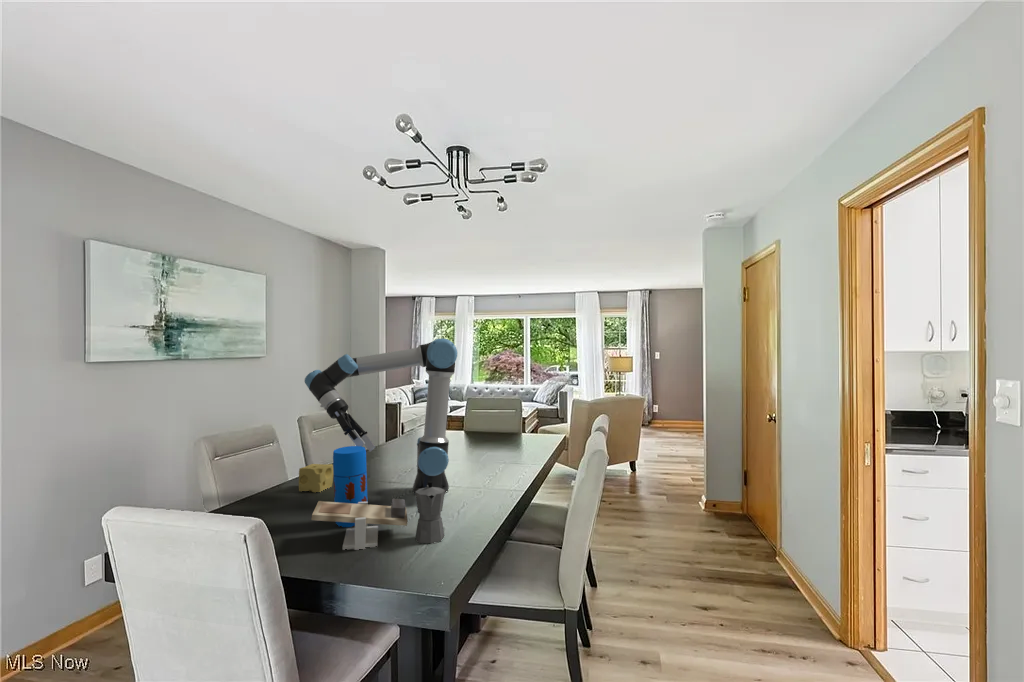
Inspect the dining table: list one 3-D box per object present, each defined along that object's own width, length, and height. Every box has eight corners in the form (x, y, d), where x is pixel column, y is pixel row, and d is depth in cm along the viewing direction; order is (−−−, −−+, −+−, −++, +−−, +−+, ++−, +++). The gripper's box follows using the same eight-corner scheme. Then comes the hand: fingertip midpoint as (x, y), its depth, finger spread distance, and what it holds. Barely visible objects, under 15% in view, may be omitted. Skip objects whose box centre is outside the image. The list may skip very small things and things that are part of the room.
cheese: (319, 493, 208) (320, 469, 208) (297, 491, 210) (297, 468, 210) (333, 486, 218) (333, 463, 218) (311, 485, 220) (311, 462, 220)
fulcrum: (378, 527, 166) (378, 500, 167) (377, 548, 149) (377, 517, 149) (347, 530, 164) (347, 502, 164) (342, 551, 146) (342, 520, 147)
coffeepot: (446, 545, 151) (447, 485, 152) (415, 547, 149) (415, 487, 150) (442, 528, 166) (442, 474, 167) (413, 530, 164) (414, 475, 165)
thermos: (374, 517, 175) (372, 446, 174) (355, 529, 165) (353, 454, 164) (348, 513, 179) (346, 445, 178) (328, 525, 169) (326, 452, 168)
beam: (405, 511, 167) (407, 498, 167) (406, 525, 153) (409, 510, 153) (317, 506, 160) (319, 491, 160) (311, 520, 146) (313, 504, 147)
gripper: (338, 416, 200) (369, 456, 195) (313, 406, 176) (347, 451, 171) (353, 404, 201) (384, 444, 196) (330, 392, 177) (365, 437, 172)
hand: (367, 447), depth 183 cm, fingers open, 13 cm apart
